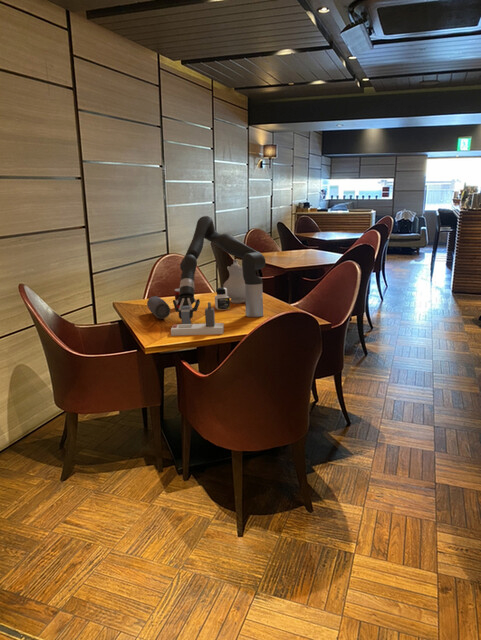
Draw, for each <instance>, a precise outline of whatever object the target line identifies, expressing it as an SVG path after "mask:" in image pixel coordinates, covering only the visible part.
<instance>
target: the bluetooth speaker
mask: <svg viewBox="0 0 481 640" xmlns="http://www.w3.org/2000/svg"><path fill="white" fill-rule="evenodd" d="M146 306H147V308H148V310H149V312H151V313H152V315H154V316H155V318H157V319H166V318H168V317H169V315H171V307H170V305H169V304H168V302H166V301H165V300H164V299H163V298H161V297H159V296H156V295H155V296H151V297H149V298H148V300H147V302H146Z"/></svg>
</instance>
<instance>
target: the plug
mask: <svg viewBox="0 0 481 640" xmlns="http://www.w3.org/2000/svg"><path fill="white" fill-rule="evenodd" d="M181 318H182V319H181V324H192V318H191V319H190V306H189V305H185V306H181Z"/></svg>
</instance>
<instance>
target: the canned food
mask: <svg viewBox="0 0 481 640" xmlns="http://www.w3.org/2000/svg"><path fill="white" fill-rule="evenodd" d="M179 291H180V289H179V288H175V289H174V300H175V301H176V300H178V298H179ZM179 307H180V303H179V302H178V304H177V308H179Z"/></svg>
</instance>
